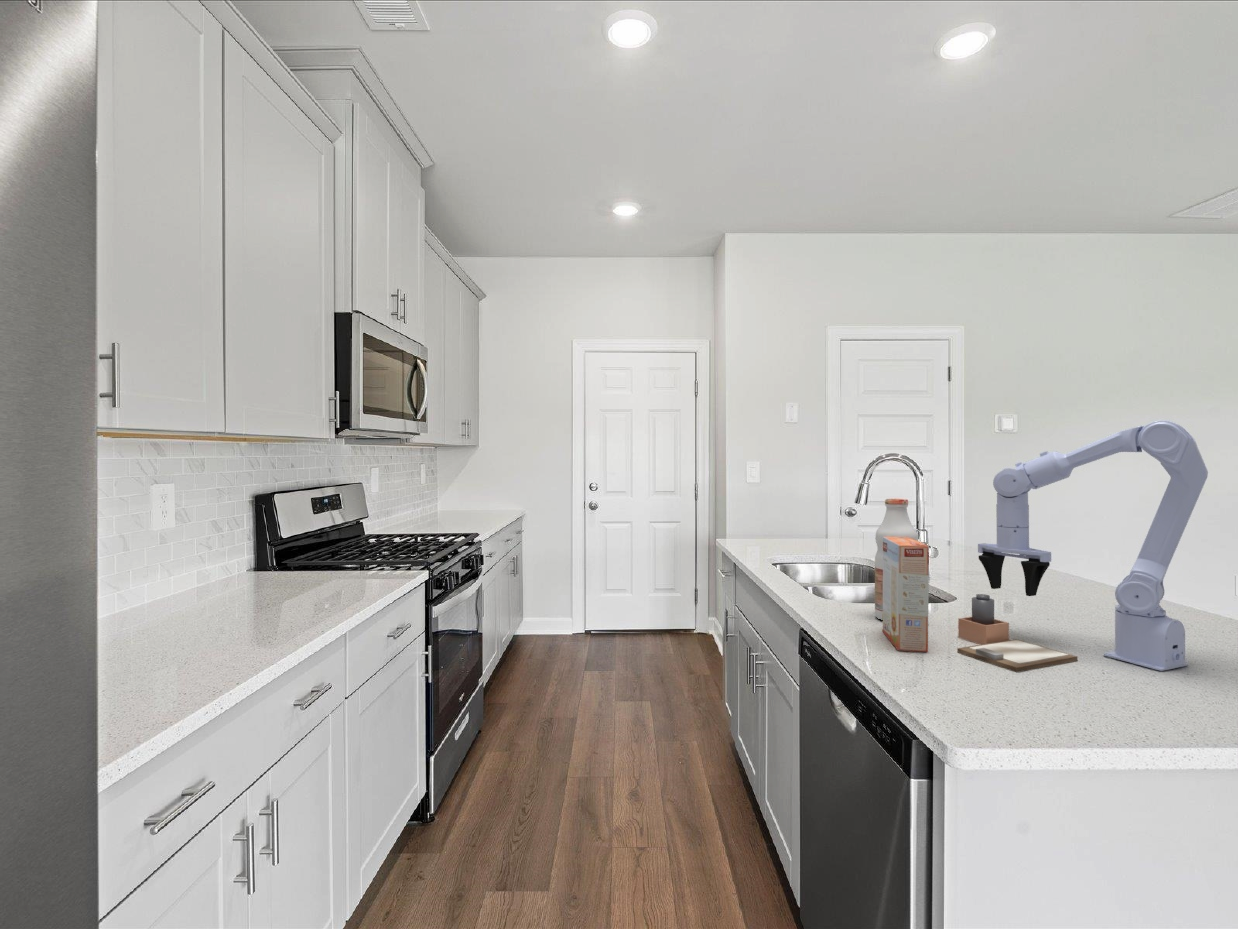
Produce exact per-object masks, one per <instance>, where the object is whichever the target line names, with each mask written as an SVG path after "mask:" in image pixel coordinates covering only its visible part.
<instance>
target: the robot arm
mask: <svg viewBox="0 0 1238 929" xmlns="http://www.w3.org/2000/svg"><path fill="white" fill-rule="evenodd" d="M1142 452H1145V453H1147V454H1148V455H1149V456H1151V457H1153V458H1154V459H1156V460H1157V461H1158V462H1160V465H1161V466H1162V467H1163V469H1164V470H1165V471H1166V472H1167V474H1168V475H1169V476H1170V479H1169V482H1168V484H1167V486H1166V489H1165V491H1164V494H1163V496H1162V498H1161V500H1160V503H1159V505H1158V508H1157V510H1156V513H1155V515H1154V517H1153V520H1152V522H1151V525H1150V527H1149V529H1148V531H1147V534H1146V535H1145V538H1144V541H1143V543H1142V546H1141V548H1140V551H1139V553H1138V555H1137V558H1136V560H1135V562H1134V563H1133V566H1132V568H1131V570H1130V573H1128V574H1127V575H1126V576H1125V577H1124V578H1123V579H1122V581H1121V582H1120V583H1119V584H1118V585H1117V586H1116V588H1115V591H1114V596H1115V600H1116V602H1117V603H1118V604H1117V605H1115V606H1114V650H1112V651H1107V652H1104V653H1103V656H1105V657H1108V658H1112V659H1115V660H1119V661H1123V662H1127V663H1130V664H1134V665H1137V666H1140V667H1141V666H1142V667H1145V668H1148V669H1153V670H1156V671H1161V672H1163V671H1168V670H1172V669H1177V668H1183V667H1186V666H1188V664H1189V663H1188V662H1186V630H1185V625H1184V624H1183V623H1182V621H1180V620H1179V619H1175V618H1171V617H1169V616H1168V615H1167V612H1166V610H1165V609H1164V608H1163V607H1162V606H1161V605H1160V603H1161V601H1162V600H1163V598H1164V596H1165V587H1164V579H1165V577H1166V574H1167V572H1168V569H1169V566H1170V564H1171V561H1172V559H1173V558H1174V554H1175V553H1176V550H1177V548H1178V545H1179V544H1180V541H1181V538H1182V536H1183V534H1184V532H1185V529H1186V528H1187V525H1188V523H1189V520H1190V518H1191V515H1192V513H1193V511H1194V509H1195V507H1196V505H1197V502H1198V500H1199V497H1200V495H1201V492H1202V491H1203V488H1204V485H1205V483H1206V481H1207V479H1208V476H1209V475H1208V474H1209V471H1208V468H1207V466H1206V463H1205V462H1204V461H1205V460H1204V459H1203V456H1202V454H1201V451H1200V449H1199V447H1198V445H1197V442H1196V439H1195V438H1194V437H1193V436H1192V435H1191V434H1190V432H1188V431H1187V430H1186V429H1185V428H1184V427H1183V426H1182V425H1180V424H1178V423H1176V422H1173V421H1170V420H1155V421H1152V422H1149V423H1147V424H1146V425H1140V426H1134V427H1131V428H1128V429H1123V430H1120V431H1117V432H1115V433H1113V434H1110V435H1108V436H1105V437H1102V438H1101V439H1098V440H1096V441H1093V442H1091V443H1089V444H1086V445H1084V446H1081V447H1078V448H1076V449H1074V450H1072V451H1070V452H1067V453H1062V452H1059V451H1055V450H1053V451H1051V452H1050V451H1048V450H1044V451H1043V452H1040V453H1039V456H1038V457H1036V458H1034V459H1031V460H1028V461H1025V462H1023V463H1022V462H1020V461H1019V462H1016V463H1015V464H1014V465H1015V468H1011V467H1007V468H1004V469H1002V470H1001V471H999V472H997V474H995V475H994V478H993V480H992V481H993V482H992V485H993V488H994V490H995V492H996V507H995V508H996V509H995V510H996V544H993V543H986V542H985V543H977V553H978V554H979V553H981V555H980V554H979V555H978V560H979V562H980V563H981V564H982V566H983V568H984V570H985V573H986V576H987V577H988V582H989V585H990V588H991V589H992V590H997V589H1001V588H1002V571H1003V565H1004V562H1005V557H1011V558H1018V559H1022V560H1021V561H1020V564H1021V567H1022V570H1023V575H1024V589H1025V596H1026V597H1034V596H1037V593H1038V589H1039V585H1040V583H1041V581H1042V579H1043V576H1044V575H1045V572H1046V571H1047V570H1048V568H1049V567H1050V566H1051V564H1050V562H1052V551H1047V550H1041V549H1035V548H1032V547H1030V505H1029V492H1030V491H1031V489H1032V490H1037V489H1040V488H1043V487H1046V486H1049V485H1051V484H1054V483H1057V482H1061V481H1063V480H1065V479H1068V478H1070V477H1071V474H1072V472H1073V470H1074V469H1076V468H1078V467H1080V466H1084V465H1086V464H1090V463H1093V462H1096V461H1097V460H1099V461H1100V460H1101V459H1104V458H1107V457H1109V456H1112V455H1115V454H1118V453H1142ZM1023 559H1025V560H1023Z"/></svg>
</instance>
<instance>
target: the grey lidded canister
mask: <svg viewBox="0 0 1238 929" xmlns="http://www.w3.org/2000/svg"><path fill="white" fill-rule="evenodd" d="M971 617H972V622H976V623H979V624H983V625H991V624H994V619H995V600H994V599H993V598H990V595H989V594H983V593H977V594H976V595H975V597H974V596H973V597H972V598H971Z"/></svg>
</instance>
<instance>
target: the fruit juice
mask: <svg viewBox="0 0 1238 929" xmlns="http://www.w3.org/2000/svg"><path fill="white" fill-rule="evenodd" d="M884 506H885V507H886V510H885V514H884V517H883V520H882V523H880V526H879V527H878V528H877V530H876V531H875V535H874V536H875V544H876V547H877V551H876V553H875V555H874V614H875V615H874V616H875V618H876V617H877V618H878V619H881V620H883V537H909V538H912V539H914V540H916V541H918V542H919V534H918V531H917V530H916V529H915V527H914V526H913V524H912V523H911V520H910V517H909V514H908V510H907V508H908V507H909V500H908V499H907V498H886V499H885V500H884ZM877 618H876V619H877ZM878 619H877V620H878Z"/></svg>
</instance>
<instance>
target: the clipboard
mask: <svg viewBox="0 0 1238 929" xmlns="http://www.w3.org/2000/svg"><path fill="white" fill-rule="evenodd" d="M956 650H957V652H956V653H958V654H961V655H964V656H967V657H970V658H973V659H976V660H978V661H982V662H984V663H985V662H986V663H988V664H991V665H995V666H997V667H1001V668H1003V669H1005V670H1009V671H1012V672H1015V673H1021V672H1026V671H1031V670H1035V669H1037V670H1038V669H1041V668H1042V669H1043V668H1047V667H1051V666H1057V665H1062V664H1069V663H1074V662H1078V657H1079V656H1076V655H1073V654H1069V653H1067V652H1064V651H1059V650H1055V649H1052V648H1048V647H1045V646H1042V645H1038V644H1034V643H1031V642H1027V641H1023V640H1020V639H1016V638H1014V639H1013V638H1012V639H1009V640H1006V641H1000V642H994V643H987V644H975V645H970V646H964V647H957V649H956Z"/></svg>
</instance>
